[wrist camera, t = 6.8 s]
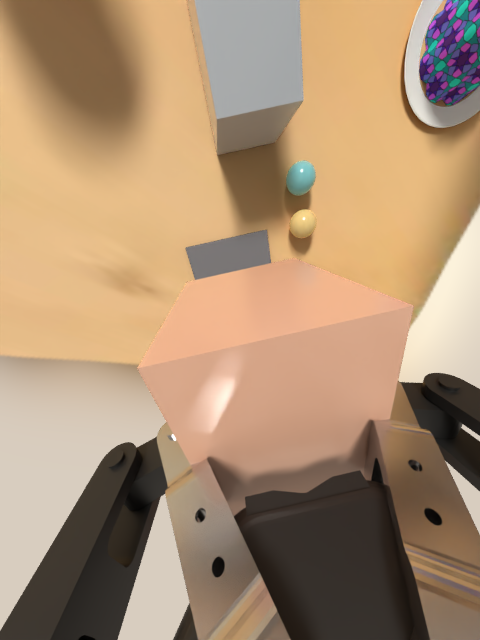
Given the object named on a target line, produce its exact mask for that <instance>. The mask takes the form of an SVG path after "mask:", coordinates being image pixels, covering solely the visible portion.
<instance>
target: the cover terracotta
mask: <svg viewBox="0 0 480 640" xmlns="http://www.w3.org/2000/svg"><path fill="white" fill-rule="evenodd" d="M413 308H414V306H413V305H411V304H408V303H406V302H403V301H401V300H398V299H396V298H393V297H391V296H388V295H386V294H383V293H381V292H378V291H376V290H373V289H371V288H368V287H366V286H363V285H361V284H358V283H356V282H353V281H351V280H348V279H346V278H343V277H341V276H338V275H336V274H333V273H331V272H328V271H326V270H323V269H321V268H318V267H316V266H313V265H311V264H308V263H306V262H303V261H300V260H298V259H295V258H291V259H287V260H283V261H278V262H274V263H269V264H265V265H260V266H256V267H251V268H247V269H242V270H238V271H233V272H229V273H224V274H220V275H216V276H211V277H207V278H202V279H198V280H193V281H189V282H186V284H185V286H184V287H183V289H182V291H181V293H180V294H179V296H178V298H177V300H176V301H175V303H174V305H173V307H172V308H171V310H170V312H169V314H168V315H167V317H166V319H165V321H164V322H163V324H162V326H161V328H160V329H159V331H158V333H157V335H156V336H155V338H154V340H153V342H152V343H151V345H150V347H149V349H148V350H147V352H146V354H145V355H144V357H143V359H142V361H141V362H140V364H139V366H138V368H137V369H138V371H139V373H140V374H141V376H142V378H143V380H144V382H145V384H146V385H147V387H148V389H149V391H150V393H151V394H152V396H153V398H154V400H155V401H156V404H157V405H158V407H159V409H160V411H161V413H162V414H163V416H164V418H165V420H166V422H167V423H168V425H169V427H170V429H171V431H172V432H173V434H174V436H175V438H176V440H177V442H178V443H179V445H180V447H181V449H182V451H183V452H184V454H185V456H186V458H187V460H188V461H189V463H190V465H191V464H195V463H198V462H201V461H203V460H205V459H206V458H207V460H208V462H209V465H210V467H211V469H212V471H213V473H214V475H215V477H216V479H217V481H218V484H219V486H220V488H221V490H222V492H223V494H224V496H225V498H226V500H227V503H228V505H229V507H230V509H231V511H232V513H233V515H234V516H235V515H236V514H237V513H238V512H239V511H241V510H242V509H244V508H245V507H246V504H245V497H246V496H251V495H255V494H259V493H264V492H268V491H272V490H276V491H286V492H297V493H307V492H309V491H310V490H312V489H313V488H315V487H317V486H318V485H320V484H321V483H323V482H324V481H326V480H327V479H329V478H331V477H333V476H337V475H341V474H346V473H350V472H354V471H359V470H360V471H361V472H362V474H363V476H364V466H365V459H366V458H367V452H368V445H369V433H370V426H371V421H372V420H375V421H381V420H386V419H390V416H391V411H392V406H393V402H394V397H395V392H396V388H397V383H398V378H399V373H400V368H401V364H402V359H403V354H404V349H405V345H406V341H407V336H408V331H409V327H410V322H411V317H412V312H413Z"/></svg>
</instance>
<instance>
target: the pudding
mask: <svg viewBox="0 0 480 640" xmlns="http://www.w3.org/2000/svg"><path fill="white" fill-rule="evenodd" d="M442 1H443V0H422V2H421V4H420V7H419V9H418V11H417V14H416V16H415V19H414V22H413V25H412V28H411V31H410V36H409V40H408V44H407V49H406V57H405V75H404V79H405V87H406V93H407V97H408V100H409V104H410V106H411V108H412V110H413V112H414V113H415V114H416V116H417V117H418V118H419V119H420V120H421V121H422V122H424V123H425V124H427V125H429V126H432V127H435V128H446V127H451V126H455V125H457V124H460V123H462V122H464V121H466V120H467V119H469V118H471V117H472V116H474V115H475V114H476V113H477V112H478V111H480V0H447V2H446V5H445V7H444V10H443V11H442V12H440V13H439V14H437V15H436V16H435V17H434V18H433V20H432V22H431V19H432V17H433V15H434V14H435V12H436V10H437V9H438V7H439V6H440V4H441V3H442ZM430 22H431V24H430ZM429 24H430V25H429ZM428 26H429V27H428ZM427 28H428V30H427ZM426 31H427V34H426ZM425 34H426V37H425V43H426V51H425V53H424V55H423V57H422V59H421V61H420V69H419V58H420V52H421V47H422V43H423V39H424V36H425ZM419 73H420V78H421V80H422V81H423V82H425V83H426V84H427V87H426V95H427V97H428V99H429V100H430V101H432V102H434V103H436V102H438V101H440V100H443V101H444V103H445V104H446V105H453V104H455V103H457V102H459V101H460V100H461V99H463V98H464V97H465V96H467V95H468V94H469V93H470V92H472V91H474V90H475V89H476V88H477V87H478V88H477V89H476V90H475V91H474V92H473V93H472V94H471V95H470V96H468V97H467V98H466V99H464V100H463V101H461V102H460V103H457V104H455V105H453V106H448V107H440V106H437V105H434V104H433V103H431V102H430V101H429V100H428V99H427V98H426V96H425V95H424V93H423V91H422V88H421V84H420V79H419Z"/></svg>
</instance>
